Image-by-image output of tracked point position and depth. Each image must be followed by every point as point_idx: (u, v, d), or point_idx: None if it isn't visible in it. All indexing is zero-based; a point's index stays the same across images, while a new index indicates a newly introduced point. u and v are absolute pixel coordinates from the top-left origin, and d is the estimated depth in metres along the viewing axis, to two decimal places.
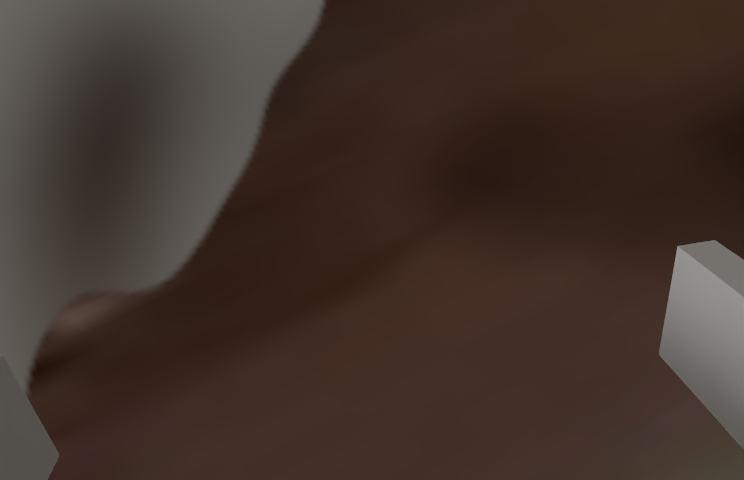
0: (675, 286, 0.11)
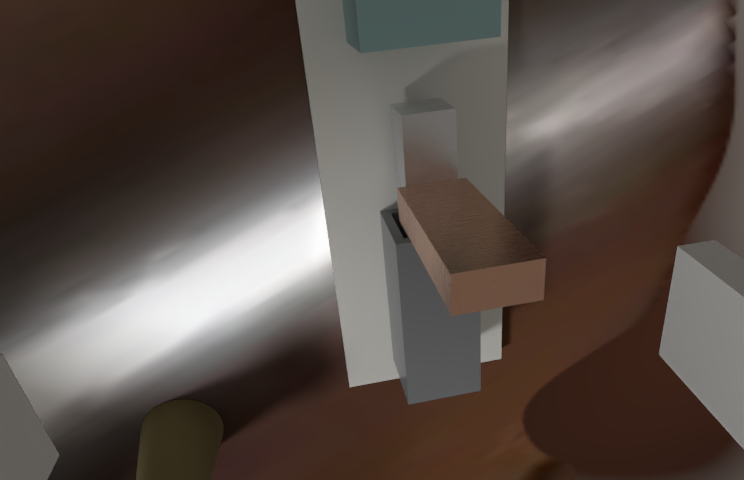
0: (675, 286, 0.11)
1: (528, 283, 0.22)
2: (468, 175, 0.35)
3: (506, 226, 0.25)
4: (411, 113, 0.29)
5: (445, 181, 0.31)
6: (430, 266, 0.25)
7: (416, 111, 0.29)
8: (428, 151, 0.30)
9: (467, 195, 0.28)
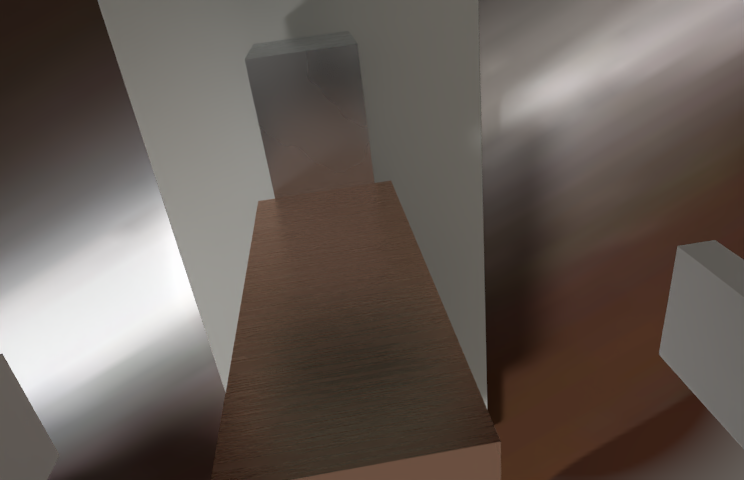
0: (675, 286, 0.11)
1: None
2: (417, 172, 0.21)
3: (426, 309, 0.10)
4: (267, 55, 0.14)
5: (351, 187, 0.16)
6: None
7: (281, 51, 0.15)
8: (311, 131, 0.15)
9: (377, 220, 0.14)
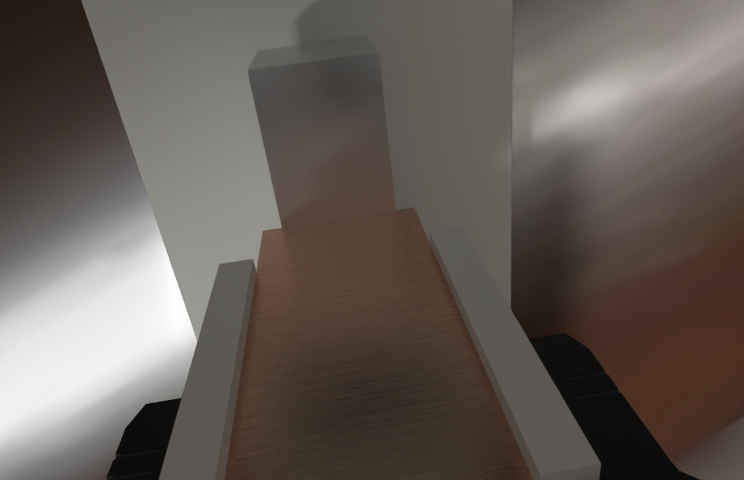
0: None
1: None
2: (439, 192, 0.18)
3: (471, 389, 0.08)
4: (274, 65, 0.12)
5: (368, 215, 0.14)
6: None
7: (290, 61, 0.13)
8: (323, 153, 0.13)
9: (401, 259, 0.12)
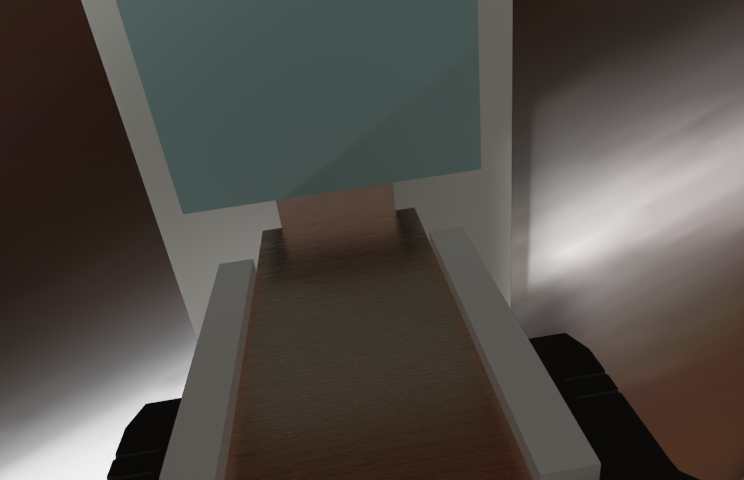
0: None
1: None
2: None
3: (471, 389, 0.08)
4: None
5: (368, 215, 0.14)
6: None
7: None
8: None
9: (401, 259, 0.12)
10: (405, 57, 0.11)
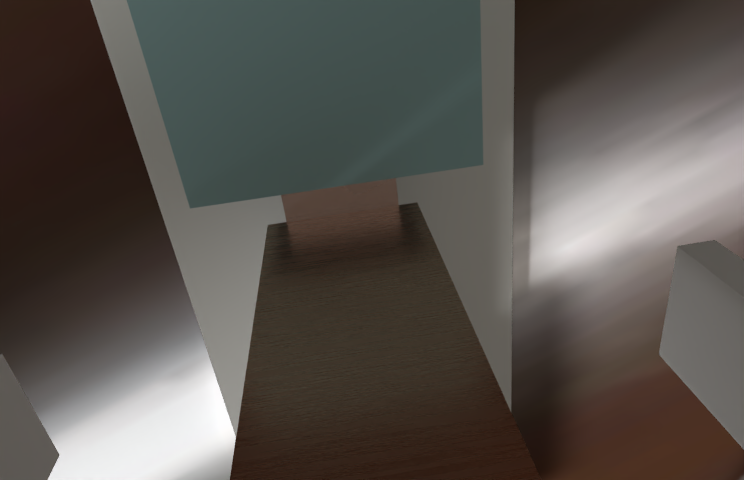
0: (675, 286, 0.11)
1: None
2: None
3: (472, 377, 0.08)
4: None
5: (372, 210, 0.14)
6: None
7: None
8: None
9: (404, 252, 0.12)
10: (408, 54, 0.12)
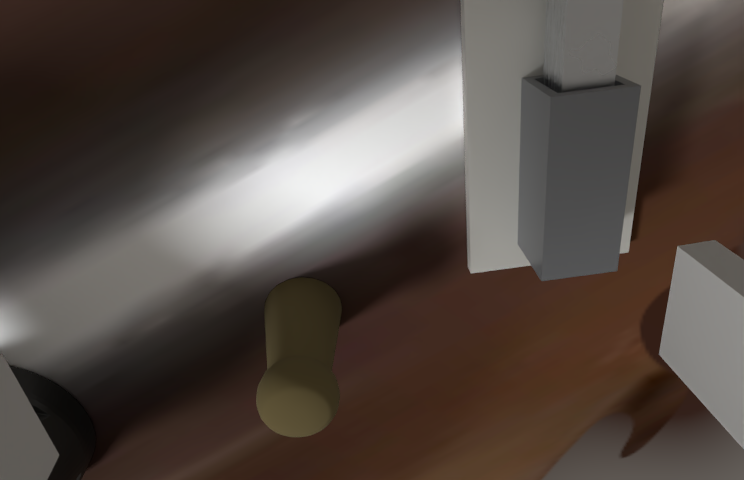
0: (675, 286, 0.11)
1: None
2: None
3: None
4: None
5: None
6: None
7: None
8: None
9: None
10: None
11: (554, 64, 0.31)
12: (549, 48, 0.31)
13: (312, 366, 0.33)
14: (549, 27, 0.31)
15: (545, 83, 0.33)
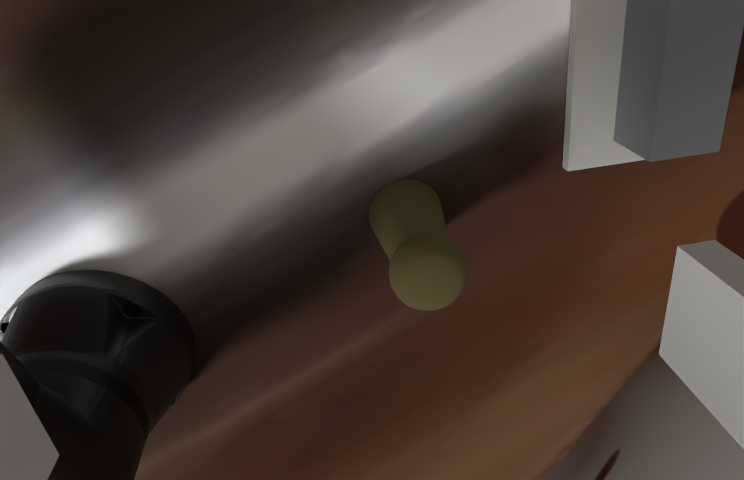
0: (675, 286, 0.11)
1: None
2: None
3: None
4: None
5: None
6: None
7: None
8: None
9: None
10: None
11: None
12: None
13: (444, 238, 0.35)
14: None
15: None
